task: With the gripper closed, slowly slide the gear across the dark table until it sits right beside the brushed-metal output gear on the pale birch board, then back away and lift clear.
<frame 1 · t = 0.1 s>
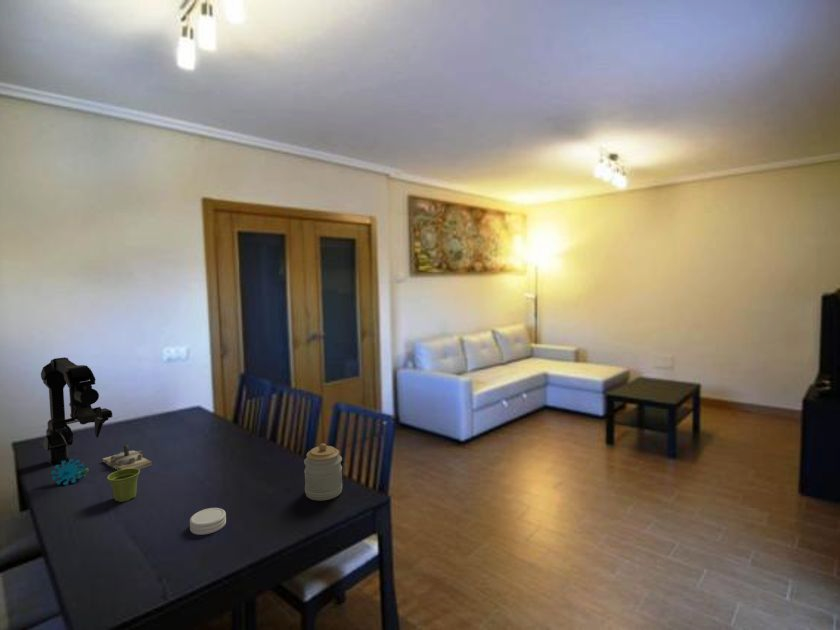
hand: (82, 441, 169), 15 cm above the table, tool pointing down, fingers open, 9 cm apart
plant pot: (125, 498, 156), on the table
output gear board: (127, 463, 184), on the table
coaster: (208, 527, 138), on the table
jar: (323, 492, 159), on the table
gear: (71, 481, 169), on the table
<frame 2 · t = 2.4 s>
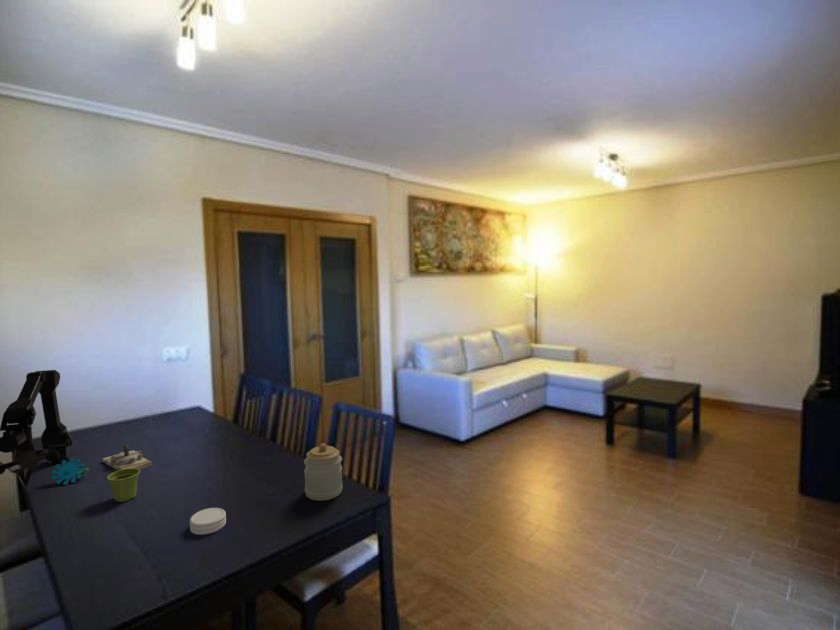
hand: (25, 485, 158), 3 cm above the table, tool pointing down, fingers closed
nothing on the table moved.
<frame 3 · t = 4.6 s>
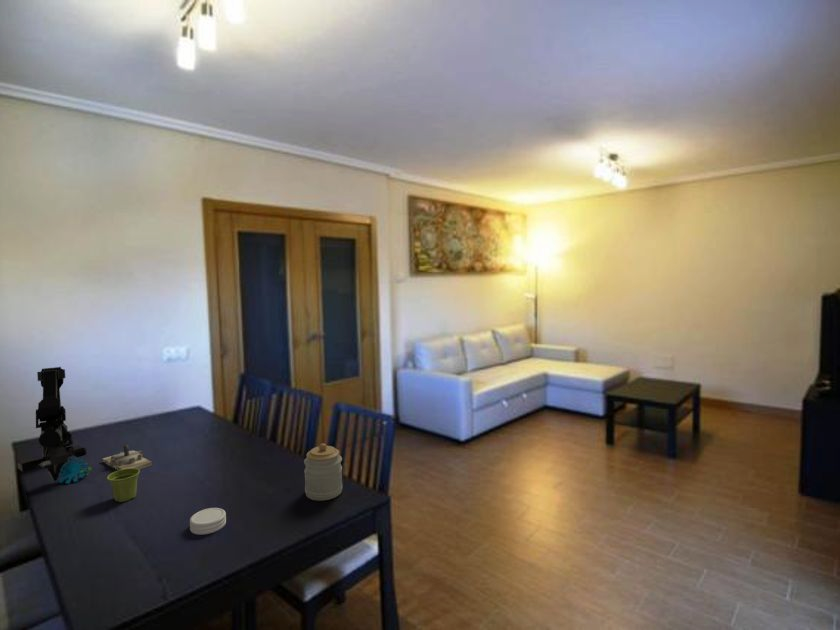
hand: (55, 480, 165), 2 cm above the table, tool pointing down, fingers closed
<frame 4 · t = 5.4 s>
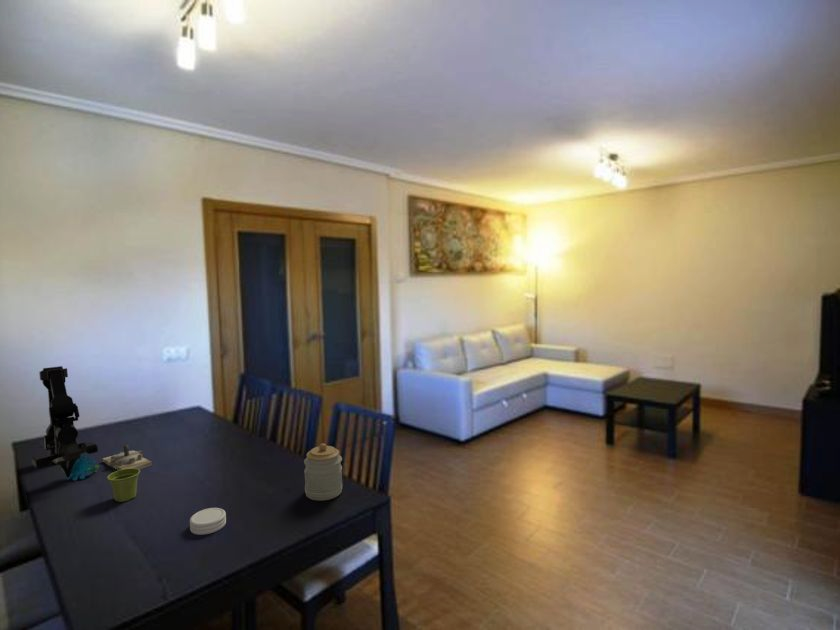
hand: (67, 476, 168), 2 cm above the table, tool pointing down, fingers closed
gear: (81, 477, 173), on the table, touching gripper
everything else where it was.
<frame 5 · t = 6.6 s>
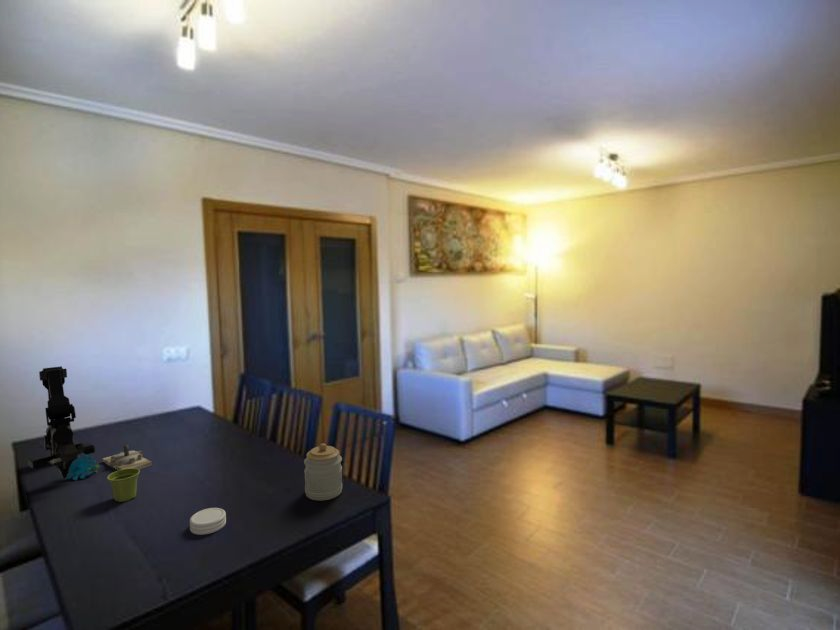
hand: (64, 477, 167), 2 cm above the table, tool pointing down, fingers closed
gear: (82, 477, 173), on the table
everything else where it was.
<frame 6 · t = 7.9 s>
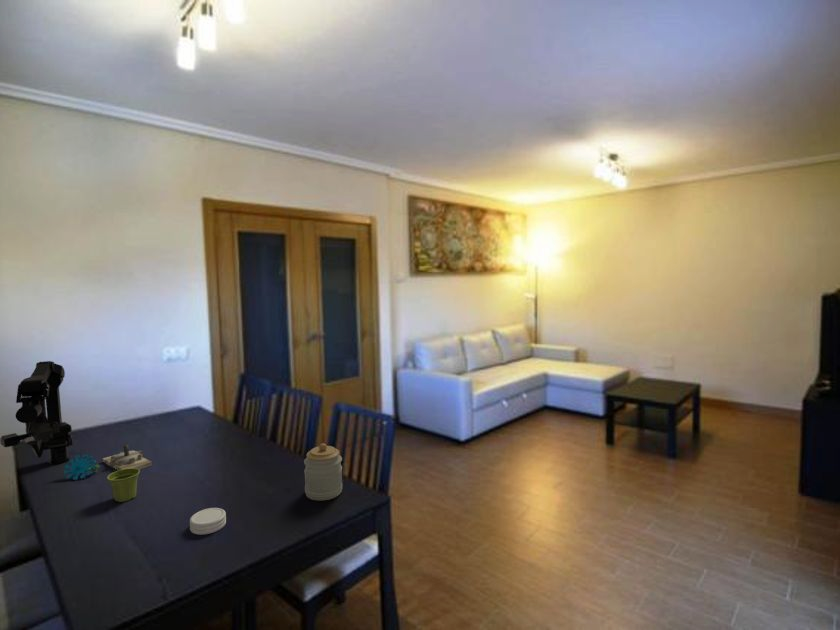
hand: (39, 457, 162), 12 cm above the table, tool pointing down, fingers closed
nothing on the table moved.
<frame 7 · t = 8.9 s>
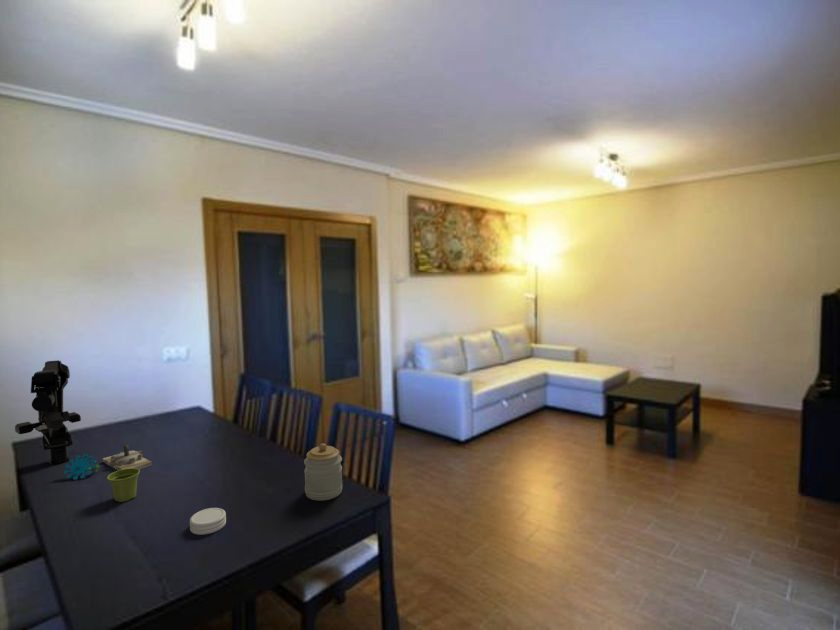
hand: (50, 444, 173), 12 cm above the table, tool pointing down, fingers closed
nothing on the table moved.
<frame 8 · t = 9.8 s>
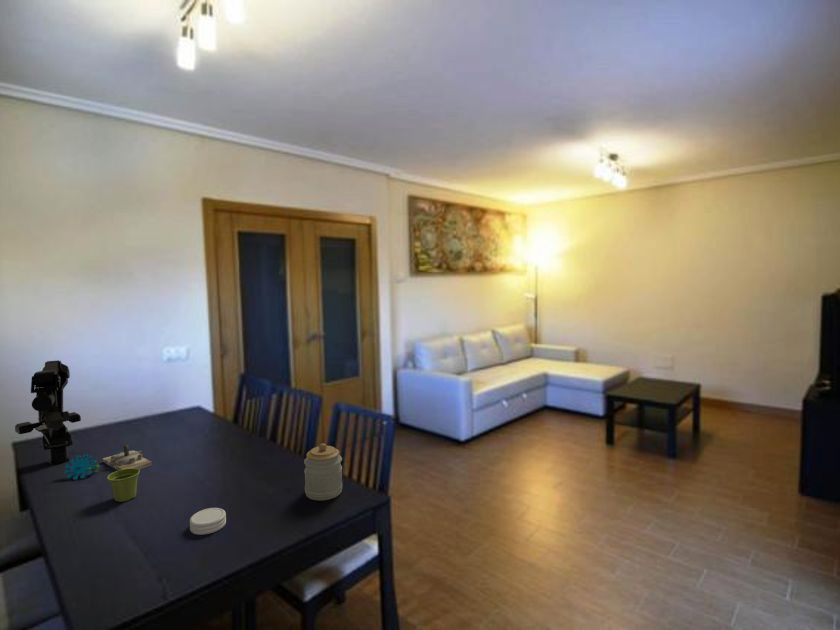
hand: (50, 444, 173), 12 cm above the table, tool pointing down, fingers closed
nothing on the table moved.
at the end: gear 2.5 cm from the target spot on the table beside the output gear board, on the table; gear moved 4.6 cm from its start; gear tilted 0° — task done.
